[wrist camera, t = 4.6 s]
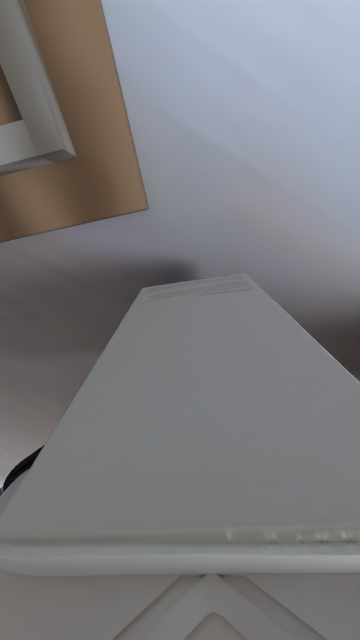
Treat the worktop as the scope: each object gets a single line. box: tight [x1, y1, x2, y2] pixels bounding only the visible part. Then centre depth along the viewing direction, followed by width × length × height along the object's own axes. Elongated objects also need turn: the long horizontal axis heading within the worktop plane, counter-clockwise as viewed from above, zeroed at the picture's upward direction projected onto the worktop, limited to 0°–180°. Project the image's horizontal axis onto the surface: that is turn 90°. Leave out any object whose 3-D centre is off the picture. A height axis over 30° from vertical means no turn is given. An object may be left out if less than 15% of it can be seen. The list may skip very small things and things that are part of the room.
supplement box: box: [0, 273, 360, 577], centre depth 10 cm, size 7×7×13 cm
